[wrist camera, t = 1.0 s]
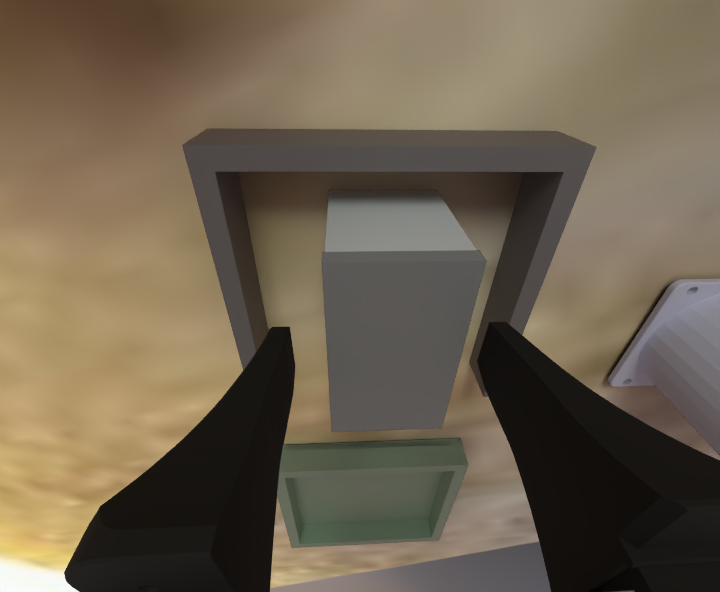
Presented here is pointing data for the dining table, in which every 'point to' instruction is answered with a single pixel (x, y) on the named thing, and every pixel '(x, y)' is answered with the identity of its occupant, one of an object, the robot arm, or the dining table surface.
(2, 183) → the dining table surface
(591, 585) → the robot arm
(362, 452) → the tray
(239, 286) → the frame
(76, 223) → the dining table surface
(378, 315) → the grey upright block
